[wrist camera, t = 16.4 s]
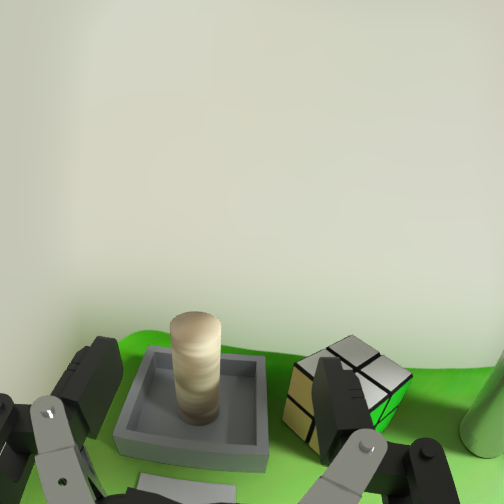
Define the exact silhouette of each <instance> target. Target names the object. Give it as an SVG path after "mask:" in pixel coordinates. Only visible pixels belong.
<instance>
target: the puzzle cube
mask: <svg viewBox="0 0 504 504" xmlns="http://www.w3.org/2000/svg"><path fill="white" fill-rule="evenodd" d="M320 357H339V358H340V360H341V364H342V367H343V370H352V371H353V372H354V373H355V374H356V376H357V377H358V378H359V380H360V383H361V386H362V391H363V392H364V395H365V399H366V402H367V405H368V408H369V412H370V415H371V418H372V421H373V425H374V428H375V430H376V431H378V432H379V433H381V432H382V431H384V430H385V429H386V428H387V426H388V424H389V422H390V421H391V419H392V417H393V415H394V413H395V412H396V410H397V408H398V404H399V403H400V402H401V400H402V398H403V396H404V394H405V392H406V390H407V388H408V386H409V384H410V382H411V380H412V378H413V375H412V373H411V372H409V371H408V370H406V369H404V368H403V367H401V366H400V365H398V364H397V363H395V362H394V361H392V360H390V359H389V358H387V357H386V356H384V355H380V353H379V352H378V351H377V350H375V349H374V348H372V347H371V346H369V345H367V344H366V343H364V342H363V341H361V340H360V339H358V338H357V337H355V336H354V335H350V336H348V337H346V338H344V339H342V340H340V341H338V342H336V343H334V344H333V345H331V346H328V347H327V348H326V349H323V350H320V351H318V352H316V353H314V354H312V355H310V356H308V357H306V358H304V359H302V360H300V361H298V362H296V363H294V366H293V371H292V375H291V380H290V385H289V389H288V394H287V398H286V403H285V407H284V412H283V416H282V420H283V421H284V422H285V423H286V424H287V425H288V426H289V427H290V428H291V429H292V430H293V431H294V432H295V433H296V434H297V435H298V436H299V437H300V438H301V439H303V440H304V441H305V442H309V446H310V447H311V448H312V449H313V450H314V451H315V452H317V453H318V454H319V455H320V452H319V445H318V437H317V431H316V424H315V417H314V410H313V404H312V396H311V390H312V383H313V379H314V375H315V372H316V368H317V364H318V360H319V358H320Z"/></svg>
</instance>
